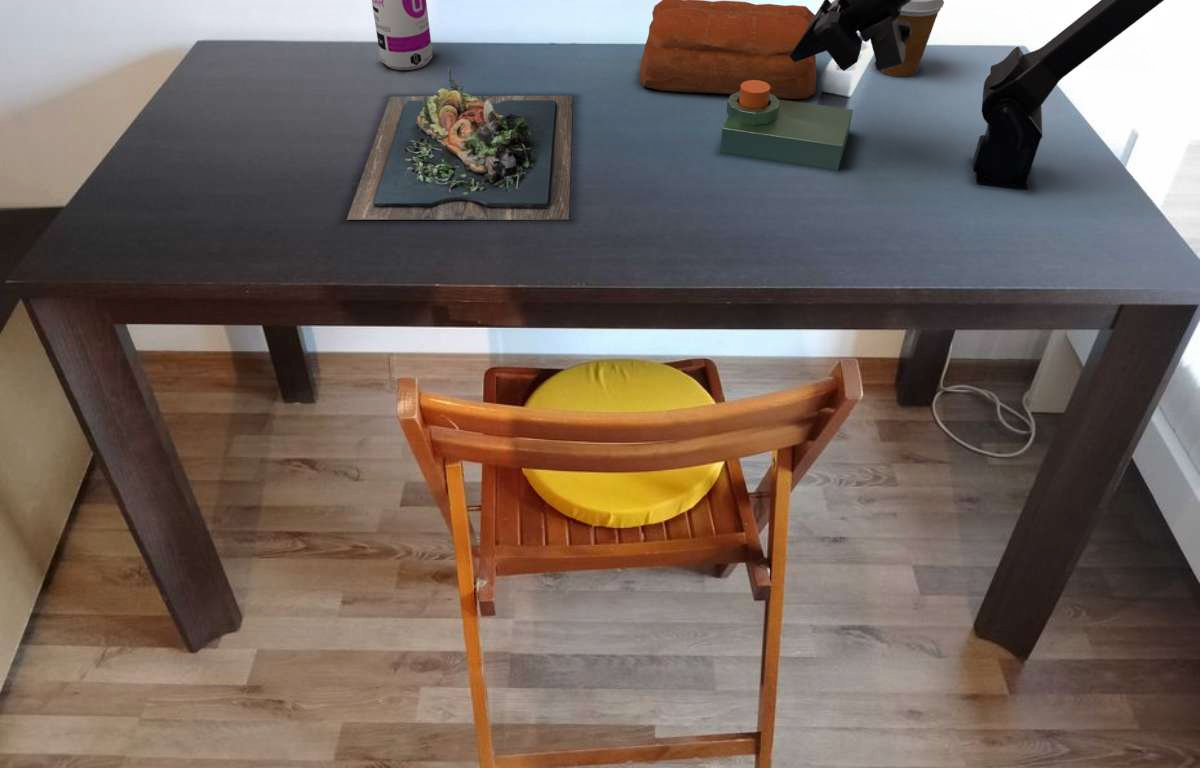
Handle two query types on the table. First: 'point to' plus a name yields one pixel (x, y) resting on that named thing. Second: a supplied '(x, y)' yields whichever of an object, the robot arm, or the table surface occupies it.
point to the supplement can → (403, 33)
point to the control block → (787, 132)
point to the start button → (754, 94)
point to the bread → (727, 48)
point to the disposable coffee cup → (916, 34)
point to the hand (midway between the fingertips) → (792, 58)
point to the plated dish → (469, 159)
